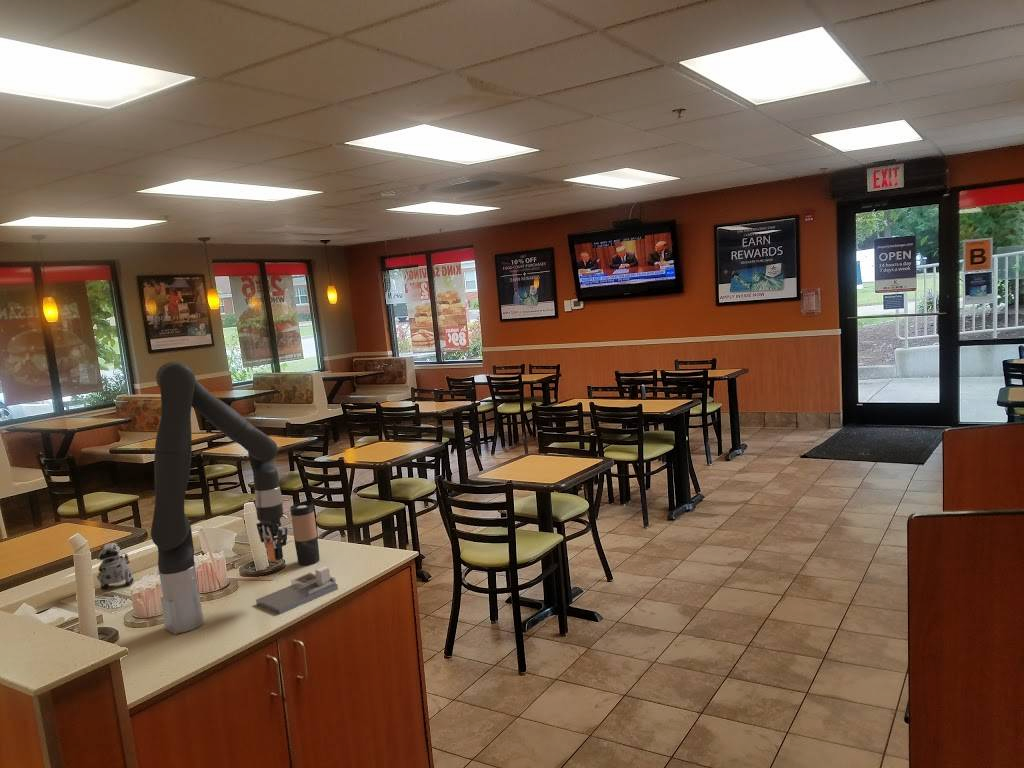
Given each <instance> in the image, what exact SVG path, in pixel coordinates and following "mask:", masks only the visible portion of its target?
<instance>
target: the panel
mask: <svg viewBox="0 0 1024 768" xmlns="http://www.w3.org/2000/svg"><path fill="white" fill-rule="evenodd" d="M330 580H331V581H330V582H328V583H325V584H324V585H321V586H318V585H317V580H316V573H315V574H314V573H312V572H308V573H306V574H303V575H301V576H298V577H296V578H294V579H291V580H290V582H291V583H290V584H291V585H288V586H286V587H284V588H281V589H279V590H276V591H274V592H271V593H269V594H266V595H263V596H261V597H259V598H257V599H255V601H256V605H258V606H259V607H262V608H265V609H267V610H269V611H271V612H274V613H275V614H278V615H281V614H283V613H286V612H288V611H290V610H293V609H296V608H297V606H298V607H299V605H300V606H301V604H302V605H304V604H307V603H309V602H311V601H313V599H314V600H315V598H316V599H318V598H320V596H321V597H322V596H324V595H327V594H329V592H330V593H333V592H334V591H336V590H339V586H338V583H337V582H336V580H337V579H336V577H333V576H330ZM317 597H318V598H317ZM310 600H311V601H310ZM308 601H309V602H308ZM306 602H307V603H306ZM303 603H304V604H303Z"/></svg>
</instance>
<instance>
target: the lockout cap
mask: <svg viewBox="0 0 1024 768" xmlns="http://www.w3.org/2000/svg"><path fill="white" fill-rule="evenodd" d="M276 543H277V540H276ZM267 552H268V557H267V559H268V561H269V562H278V561H281V560H282V559H280V560H275V553H274V545H273V542H272V541H271V540H269V542H268V543H267V551H266V553H267Z"/></svg>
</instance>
